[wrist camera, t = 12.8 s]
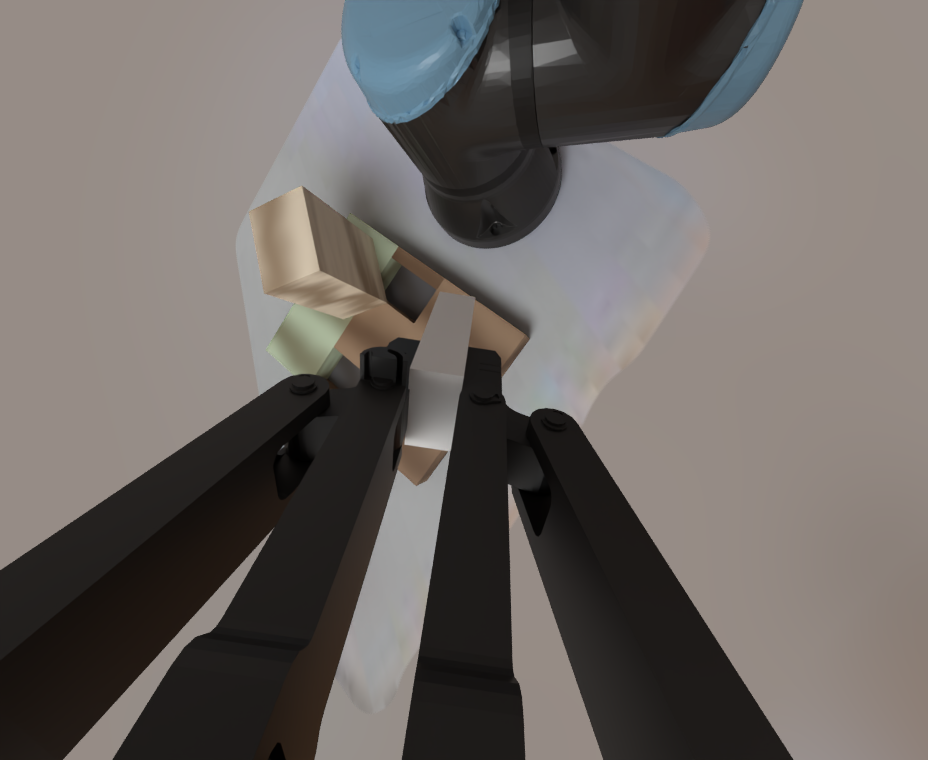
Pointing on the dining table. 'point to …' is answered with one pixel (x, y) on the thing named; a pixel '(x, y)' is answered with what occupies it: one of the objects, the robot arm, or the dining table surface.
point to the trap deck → (385, 333)
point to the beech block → (315, 256)
